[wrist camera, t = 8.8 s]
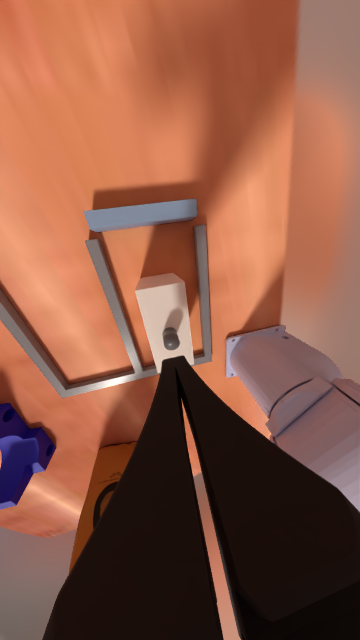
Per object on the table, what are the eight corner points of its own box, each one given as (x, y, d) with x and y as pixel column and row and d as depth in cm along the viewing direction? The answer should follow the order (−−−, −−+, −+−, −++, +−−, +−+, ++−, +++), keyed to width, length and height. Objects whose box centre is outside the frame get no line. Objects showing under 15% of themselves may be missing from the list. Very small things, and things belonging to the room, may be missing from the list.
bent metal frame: (202, 225, 14) (205, 224, 13) (209, 357, 22) (211, 361, 21) (-37, 258, 12) (-49, 258, 11) (65, 392, 19) (62, 398, 19)
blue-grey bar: (191, 204, 13) (196, 198, 12) (192, 219, 14) (197, 215, 12) (91, 216, 12) (83, 211, 11) (97, 232, 13) (90, 229, 11)
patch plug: (172, 272, 16) (189, 285, 9) (182, 333, 19) (199, 376, 12) (140, 277, 15) (132, 296, 8) (155, 339, 19) (158, 386, 12)
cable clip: (56, 446, 24) (29, 501, 19) (25, 453, 23) (-12, 512, 18) (23, 399, 19) (-27, 456, 14) (-17, 405, 18) (-87, 468, 13)
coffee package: (149, 436, 27) (145, 893, 8) (147, 467, 32) (143, 793, 13) (92, 444, 25) (-109, 1102, 6) (100, 476, 30) (8, 885, 11)
